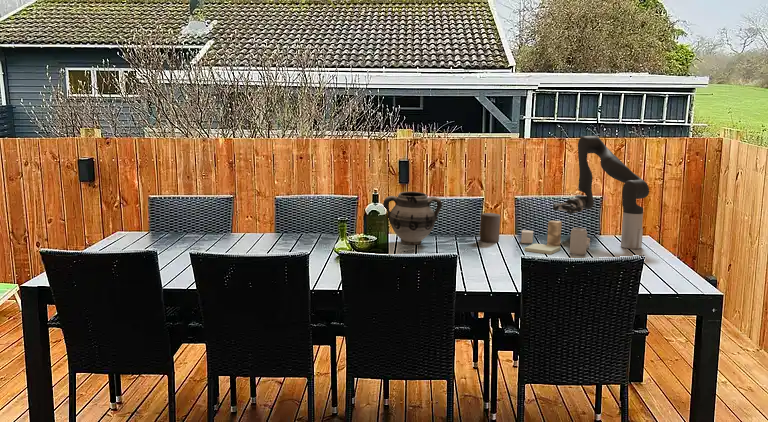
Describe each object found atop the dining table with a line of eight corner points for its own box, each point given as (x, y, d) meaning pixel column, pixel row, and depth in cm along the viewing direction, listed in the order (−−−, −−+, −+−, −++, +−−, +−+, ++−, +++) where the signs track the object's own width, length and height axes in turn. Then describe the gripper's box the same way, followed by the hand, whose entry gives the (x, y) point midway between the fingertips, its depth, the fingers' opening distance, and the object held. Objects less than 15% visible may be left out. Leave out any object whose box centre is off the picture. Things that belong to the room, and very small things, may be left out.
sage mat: (560, 249, 330) (560, 246, 330) (550, 254, 319) (551, 251, 319) (534, 246, 337) (534, 243, 337) (524, 250, 326) (524, 247, 326)
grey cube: (532, 241, 350) (533, 230, 349) (532, 243, 345) (532, 232, 344) (521, 240, 351) (522, 230, 351) (521, 242, 346) (521, 231, 345)
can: (584, 252, 325) (585, 227, 323) (587, 255, 318) (589, 230, 316) (568, 251, 326) (569, 226, 324) (570, 255, 318) (572, 229, 317)
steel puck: (590, 248, 335) (591, 238, 335) (587, 250, 330) (588, 240, 330) (578, 246, 339) (579, 236, 338) (574, 248, 334) (575, 238, 333)
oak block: (560, 245, 341) (561, 221, 339) (556, 246, 337) (558, 222, 335) (550, 243, 344) (551, 220, 342) (547, 245, 340) (548, 221, 338)
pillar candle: (478, 241, 345) (479, 212, 343) (481, 238, 355) (482, 209, 352) (497, 243, 343) (499, 214, 340) (500, 240, 352) (501, 211, 350)
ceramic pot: (440, 239, 350) (442, 190, 346) (441, 248, 327) (442, 196, 323) (384, 237, 351) (385, 189, 348) (380, 246, 329) (381, 195, 325)
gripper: (560, 197, 364) (550, 200, 350) (587, 199, 356) (577, 203, 343) (560, 211, 365) (549, 214, 352) (586, 214, 357) (576, 218, 344)
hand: (563, 209), depth 347 cm, fingers open, 8 cm apart
